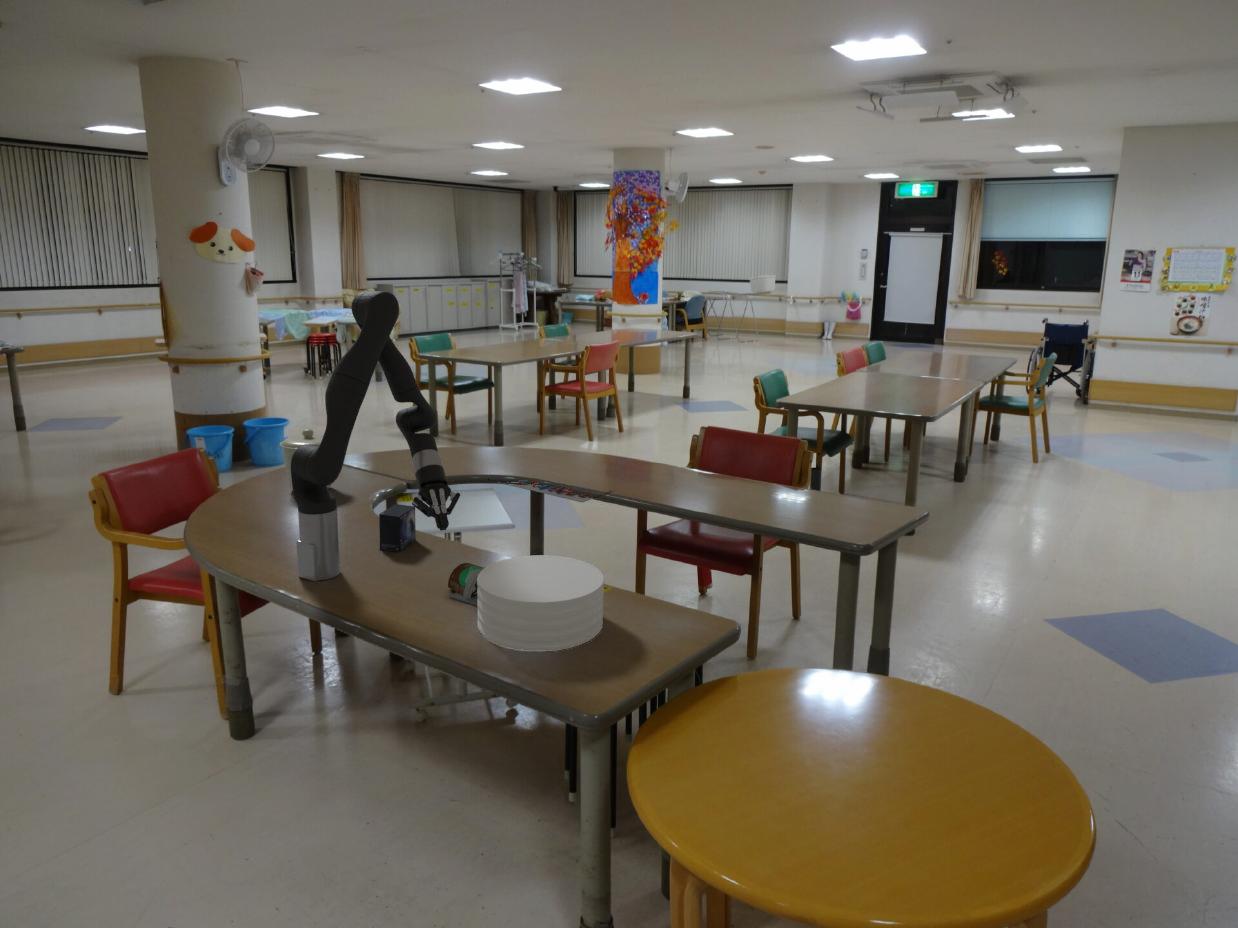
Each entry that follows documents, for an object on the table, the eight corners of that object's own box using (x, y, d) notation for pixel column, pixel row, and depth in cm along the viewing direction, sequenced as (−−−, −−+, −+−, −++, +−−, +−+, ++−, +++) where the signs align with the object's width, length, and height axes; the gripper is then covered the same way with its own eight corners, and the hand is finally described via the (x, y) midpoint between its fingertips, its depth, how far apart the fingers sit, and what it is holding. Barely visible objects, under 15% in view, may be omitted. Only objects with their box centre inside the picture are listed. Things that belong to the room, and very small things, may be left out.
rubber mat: (482, 607, 201) (482, 605, 201) (449, 597, 206) (449, 595, 206) (528, 583, 216) (528, 581, 216) (496, 575, 221) (496, 572, 221)
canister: (348, 484, 298) (345, 425, 293) (323, 499, 281) (320, 436, 275) (299, 481, 300) (296, 422, 295) (272, 495, 283) (267, 432, 278)
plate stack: (540, 590, 213) (541, 546, 210) (627, 624, 195) (629, 576, 192) (451, 625, 192) (450, 577, 189) (540, 666, 174) (540, 613, 172)
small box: (400, 552, 235) (399, 516, 232) (378, 550, 236) (377, 514, 233) (417, 540, 245) (416, 505, 242) (396, 538, 246) (394, 503, 244)
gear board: (615, 485, 302) (582, 497, 286) (615, 491, 302) (582, 504, 287) (518, 464, 326) (482, 474, 310) (518, 470, 327) (482, 480, 311)
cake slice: (482, 553, 217) (508, 563, 211) (482, 575, 219) (508, 586, 212) (442, 564, 208) (468, 575, 202) (442, 588, 210) (468, 600, 203)
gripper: (406, 465, 219) (421, 525, 212) (456, 461, 226) (472, 519, 218) (401, 480, 225) (415, 538, 218) (450, 475, 232) (465, 532, 224)
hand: (444, 528), depth 218 cm, fingers closed
